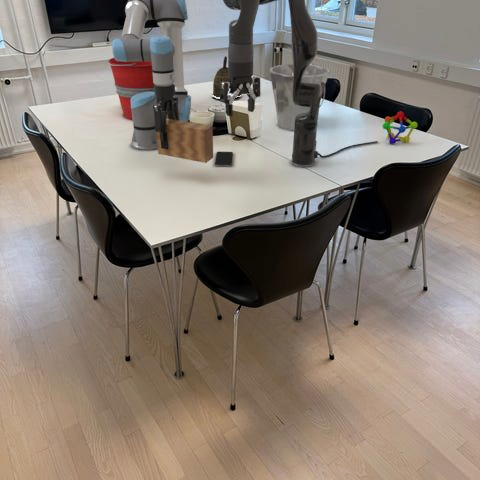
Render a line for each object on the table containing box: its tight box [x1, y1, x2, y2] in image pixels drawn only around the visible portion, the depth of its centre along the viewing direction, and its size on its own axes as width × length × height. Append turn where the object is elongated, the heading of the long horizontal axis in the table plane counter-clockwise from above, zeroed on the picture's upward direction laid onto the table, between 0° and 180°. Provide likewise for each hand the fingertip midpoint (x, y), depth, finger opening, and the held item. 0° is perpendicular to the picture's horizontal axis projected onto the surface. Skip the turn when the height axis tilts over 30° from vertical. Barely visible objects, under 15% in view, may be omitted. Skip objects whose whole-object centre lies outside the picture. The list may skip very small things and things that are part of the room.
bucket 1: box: [105, 57, 155, 121], centre depth 241 cm, size 35×35×30 cm
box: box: [156, 119, 214, 164], centre depth 167 cm, size 21×6×12 cm, turn 66°
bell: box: [212, 56, 240, 97], centre depth 278 cm, size 19×26×20 cm
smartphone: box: [214, 151, 234, 167], centre depth 191 cm, size 7×1×15 cm
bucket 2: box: [269, 63, 330, 131], centre depth 226 cm, size 30×30×28 cm
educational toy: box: [382, 110, 418, 145], centre depth 207 cm, size 16×13×15 cm
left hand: (169, 145), depth 171 cm, fingers closed on box, 6 cm apart
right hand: (240, 113), depth 140 cm, fingers open, 8 cm apart
